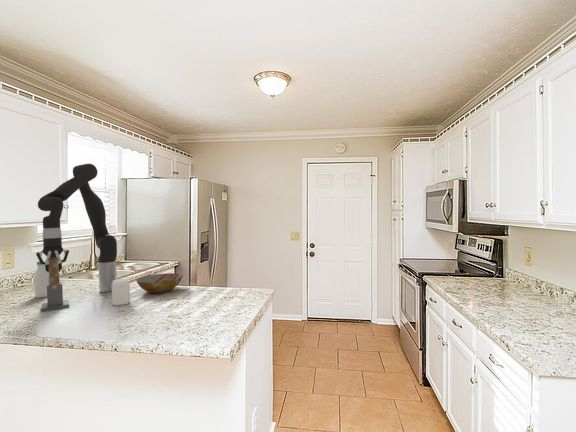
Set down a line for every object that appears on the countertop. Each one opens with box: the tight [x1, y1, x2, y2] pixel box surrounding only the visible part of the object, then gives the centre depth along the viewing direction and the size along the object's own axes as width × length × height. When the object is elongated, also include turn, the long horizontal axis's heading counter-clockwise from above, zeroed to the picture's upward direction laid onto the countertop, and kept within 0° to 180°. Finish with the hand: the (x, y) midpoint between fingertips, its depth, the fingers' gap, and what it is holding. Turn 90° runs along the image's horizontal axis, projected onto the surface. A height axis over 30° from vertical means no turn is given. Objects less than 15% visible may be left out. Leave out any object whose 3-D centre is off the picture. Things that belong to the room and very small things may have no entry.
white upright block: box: [111, 278, 131, 307], centre depth 167 cm, size 8×8×12 cm
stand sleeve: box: [40, 281, 70, 312], centre depth 165 cm, size 11×11×12 cm
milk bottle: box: [33, 260, 49, 299], centre depth 187 cm, size 8×8×20 cm
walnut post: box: [48, 257, 60, 285], centre depth 165 cm, size 4×4×17 cm
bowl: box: [135, 272, 183, 295], centre depth 191 cm, size 25×25×8 cm
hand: (53, 271), depth 165 cm, fingers closed on walnut post, 4 cm apart
